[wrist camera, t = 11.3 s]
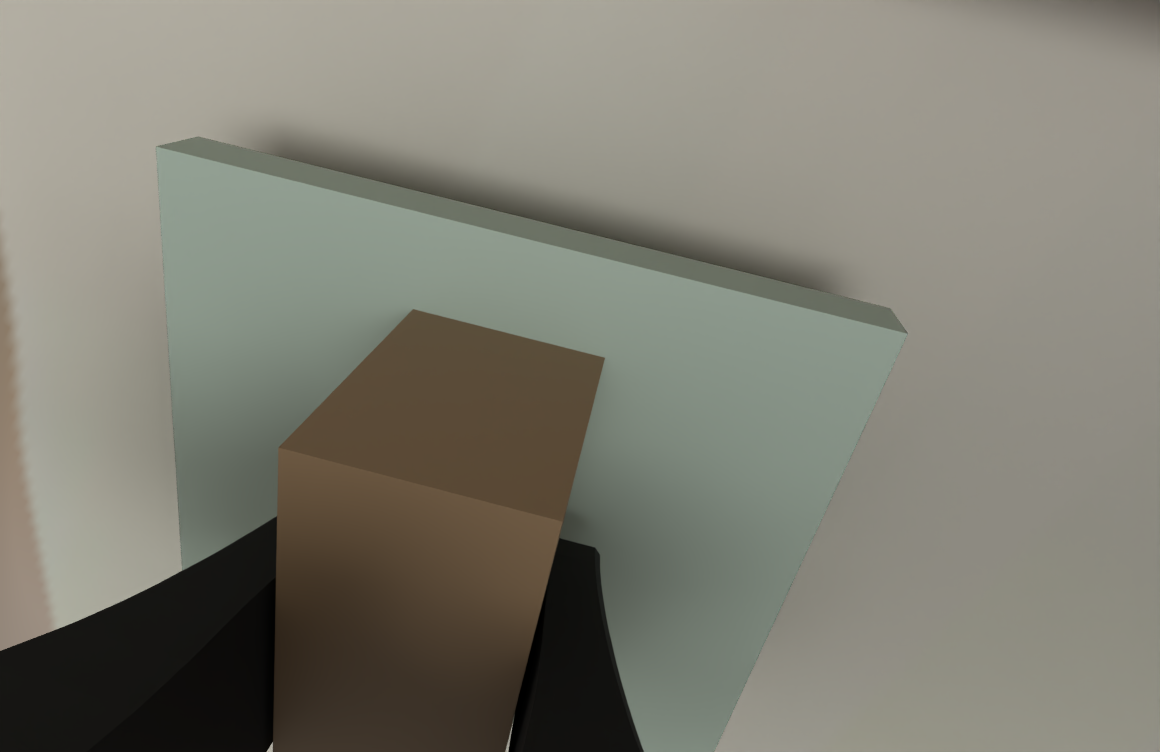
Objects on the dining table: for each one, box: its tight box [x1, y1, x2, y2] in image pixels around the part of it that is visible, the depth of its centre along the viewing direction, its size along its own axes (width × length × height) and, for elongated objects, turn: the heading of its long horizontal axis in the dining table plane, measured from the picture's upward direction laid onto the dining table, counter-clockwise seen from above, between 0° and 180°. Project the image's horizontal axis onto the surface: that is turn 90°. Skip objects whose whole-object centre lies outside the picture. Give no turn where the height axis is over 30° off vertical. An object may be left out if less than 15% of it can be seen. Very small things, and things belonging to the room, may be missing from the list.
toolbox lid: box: [156, 137, 908, 752], centre depth 11 cm, size 11×10×5 cm
